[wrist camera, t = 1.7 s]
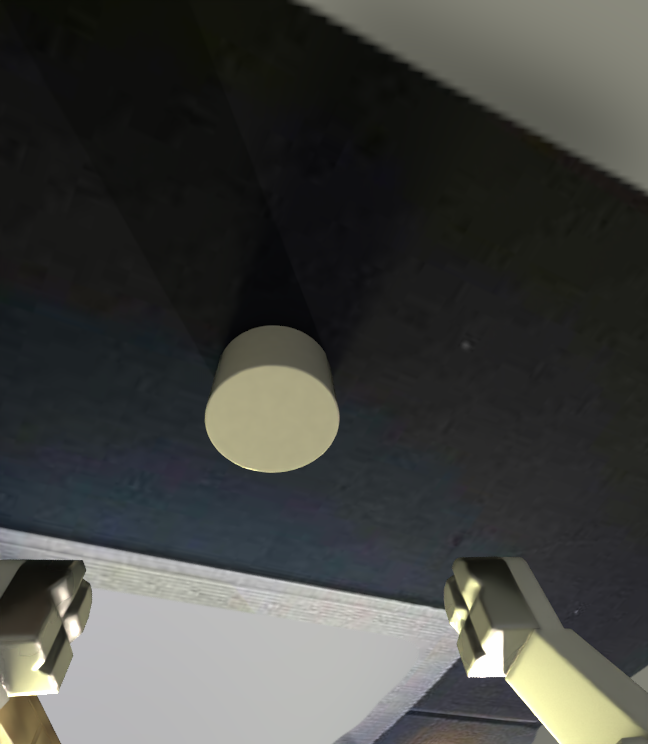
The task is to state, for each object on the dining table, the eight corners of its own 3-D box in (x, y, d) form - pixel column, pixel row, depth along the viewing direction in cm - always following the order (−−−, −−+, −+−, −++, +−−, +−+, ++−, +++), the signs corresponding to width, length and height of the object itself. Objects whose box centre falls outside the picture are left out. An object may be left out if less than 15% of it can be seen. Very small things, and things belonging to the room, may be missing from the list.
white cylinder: (215, 321, 15) (201, 361, 12) (336, 328, 16) (347, 368, 13) (218, 420, 17) (207, 472, 15) (324, 423, 18) (332, 473, 15)
